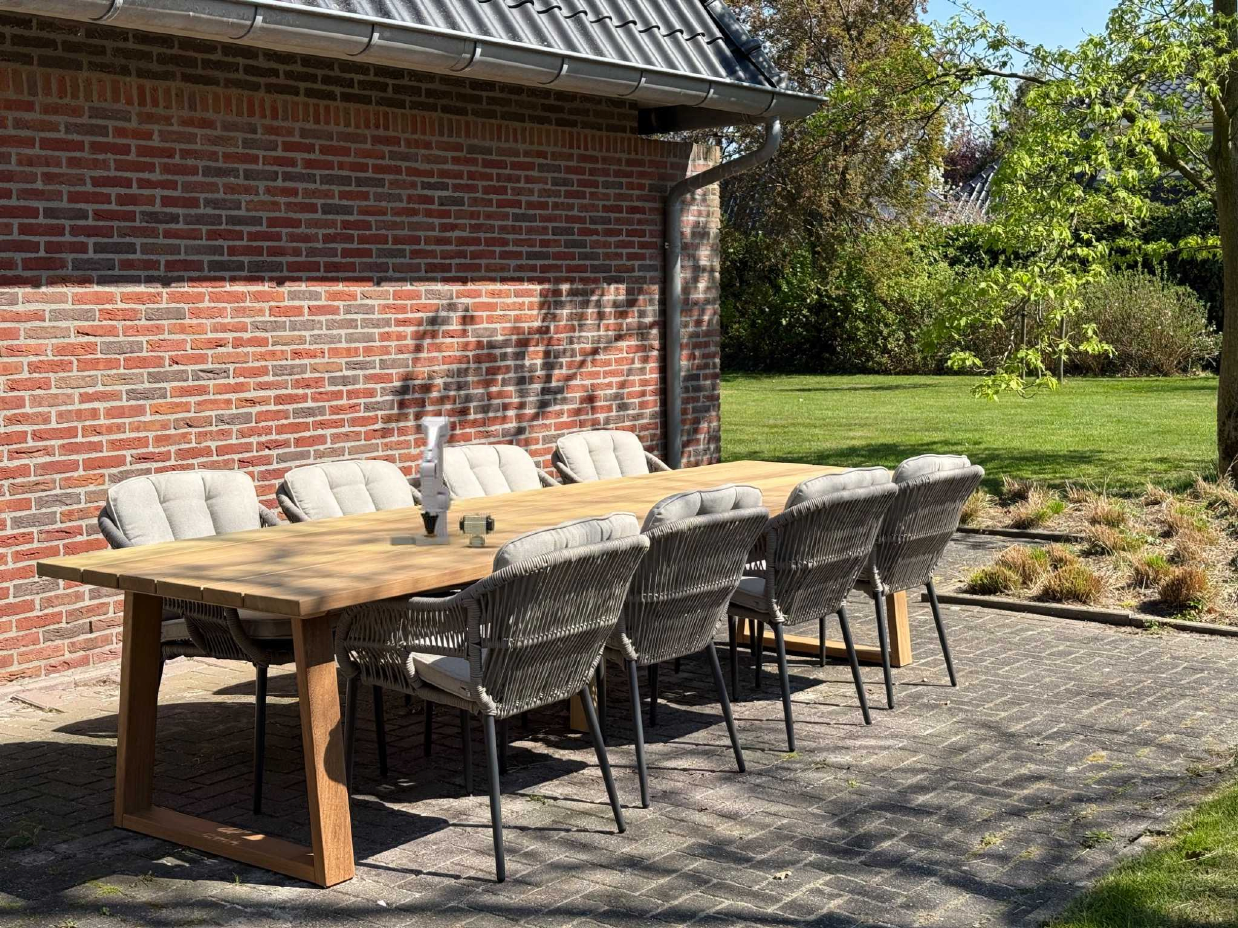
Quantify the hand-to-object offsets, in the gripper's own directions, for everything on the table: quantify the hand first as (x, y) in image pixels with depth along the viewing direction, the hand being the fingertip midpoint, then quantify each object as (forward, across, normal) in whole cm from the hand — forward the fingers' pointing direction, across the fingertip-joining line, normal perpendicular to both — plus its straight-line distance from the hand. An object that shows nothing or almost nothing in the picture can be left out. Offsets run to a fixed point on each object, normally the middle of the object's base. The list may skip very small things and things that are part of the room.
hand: (429, 533), depth 533 cm
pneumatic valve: (+4, +15, +14) cm, 21 cm away
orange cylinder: (+2, 0, 0) cm, 2 cm away
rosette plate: (+3, 0, -4) cm, 5 cm away
